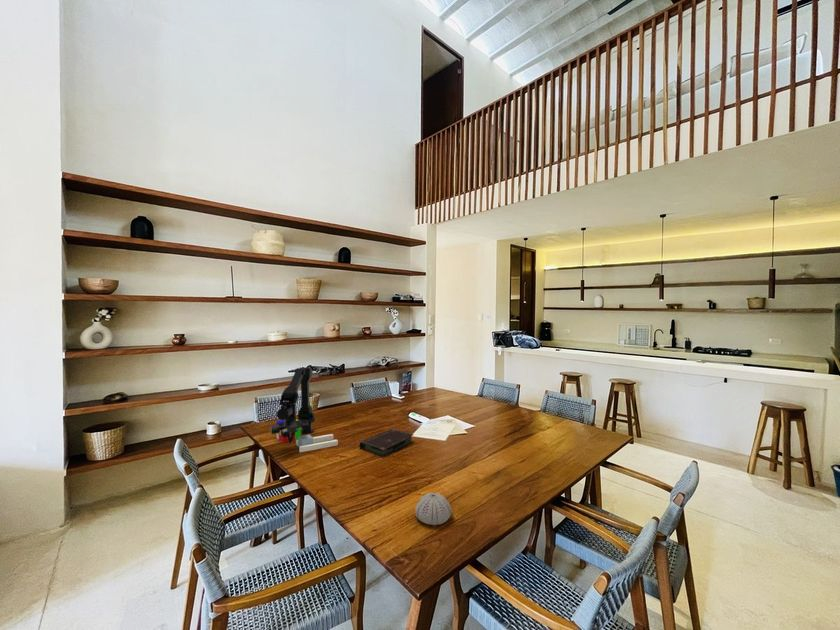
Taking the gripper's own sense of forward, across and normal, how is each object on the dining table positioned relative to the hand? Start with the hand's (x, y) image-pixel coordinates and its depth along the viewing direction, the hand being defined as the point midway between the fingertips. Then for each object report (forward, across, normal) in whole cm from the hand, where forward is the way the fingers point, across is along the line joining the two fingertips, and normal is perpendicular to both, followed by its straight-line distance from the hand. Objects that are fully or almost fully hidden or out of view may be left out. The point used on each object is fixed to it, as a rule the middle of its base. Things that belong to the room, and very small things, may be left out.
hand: (290, 442), depth 182 cm
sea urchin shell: (+4, +37, -86) cm, 94 cm away
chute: (+4, +14, 0) cm, 14 cm away
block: (+4, +8, 0) cm, 9 cm away
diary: (+4, +48, -19) cm, 52 cm away
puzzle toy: (+4, +2, +17) cm, 18 cm away
